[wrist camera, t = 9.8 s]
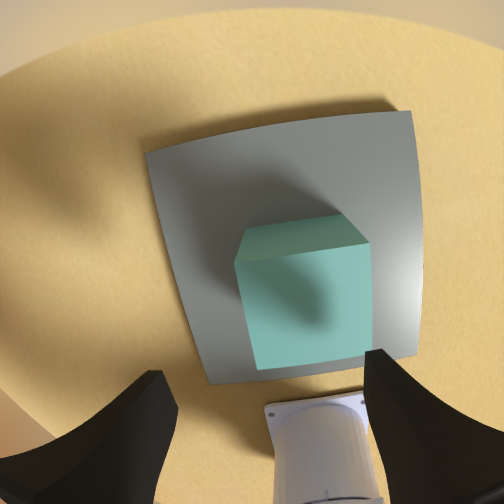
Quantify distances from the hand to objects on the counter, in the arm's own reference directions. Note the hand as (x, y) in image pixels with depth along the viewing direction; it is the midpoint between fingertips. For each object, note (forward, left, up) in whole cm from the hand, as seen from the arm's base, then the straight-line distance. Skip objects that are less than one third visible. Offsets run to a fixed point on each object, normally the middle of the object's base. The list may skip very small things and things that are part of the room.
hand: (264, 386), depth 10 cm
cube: (+1, -2, -7) cm, 8 cm away
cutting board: (+1, -2, -9) cm, 9 cm away
